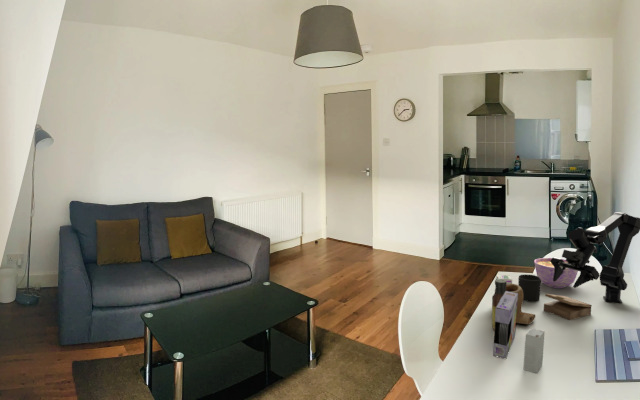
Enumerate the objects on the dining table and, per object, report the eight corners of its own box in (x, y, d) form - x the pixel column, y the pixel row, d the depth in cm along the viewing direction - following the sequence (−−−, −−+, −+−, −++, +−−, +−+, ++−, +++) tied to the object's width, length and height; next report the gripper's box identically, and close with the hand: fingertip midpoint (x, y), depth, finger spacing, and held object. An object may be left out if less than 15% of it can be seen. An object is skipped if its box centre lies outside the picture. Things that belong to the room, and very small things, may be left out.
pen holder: (544, 299, 203) (545, 278, 202) (533, 303, 198) (534, 281, 197) (524, 293, 211) (525, 273, 210) (513, 298, 206) (514, 276, 204)
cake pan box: (507, 361, 147) (509, 309, 145) (491, 357, 150) (492, 306, 147) (516, 339, 163) (518, 292, 161) (501, 336, 166) (503, 290, 164)
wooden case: (564, 305, 195) (564, 298, 195) (590, 314, 185) (591, 307, 184) (543, 310, 190) (543, 303, 190) (569, 320, 179) (570, 313, 179)
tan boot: (489, 322, 178) (490, 286, 176) (496, 313, 188) (497, 278, 186) (531, 330, 170) (532, 292, 168) (535, 320, 180) (537, 284, 178)
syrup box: (512, 312, 188) (513, 279, 186) (497, 311, 189) (498, 278, 187) (509, 307, 194) (510, 275, 192) (494, 307, 195) (495, 274, 193)
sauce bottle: (509, 329, 172) (510, 279, 169) (510, 335, 166) (512, 284, 163) (490, 327, 174) (492, 277, 171) (491, 333, 168) (493, 282, 166)
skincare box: (528, 362, 146) (529, 327, 144) (543, 366, 143) (545, 330, 141) (522, 370, 141) (524, 333, 139) (538, 374, 138) (539, 337, 137)
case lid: (564, 298, 195) (565, 295, 195) (591, 307, 184) (592, 303, 184) (544, 295, 189) (545, 292, 189) (571, 304, 179) (572, 301, 179)
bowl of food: (527, 279, 233) (528, 257, 232) (568, 280, 230) (569, 258, 229) (541, 291, 214) (542, 268, 212) (585, 292, 211) (587, 269, 209)
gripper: (553, 238, 193) (535, 267, 190) (596, 247, 176) (576, 278, 173) (565, 254, 197) (547, 282, 194) (607, 264, 180) (588, 295, 177)
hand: (563, 284), depth 184 cm, fingers open, 9 cm apart
